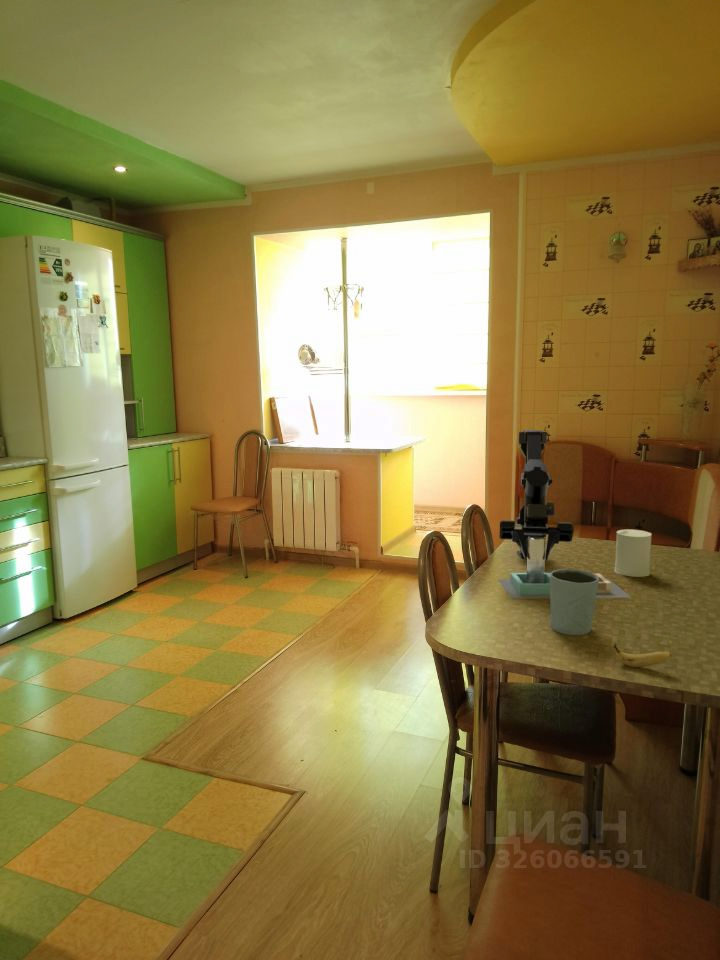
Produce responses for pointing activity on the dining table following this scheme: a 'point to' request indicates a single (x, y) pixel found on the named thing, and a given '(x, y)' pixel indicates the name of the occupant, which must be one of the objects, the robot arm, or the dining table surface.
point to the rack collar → (530, 584)
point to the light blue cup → (572, 601)
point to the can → (633, 553)
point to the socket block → (603, 584)
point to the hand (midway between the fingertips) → (536, 558)
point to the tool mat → (513, 593)
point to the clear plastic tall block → (535, 559)
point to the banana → (642, 658)
